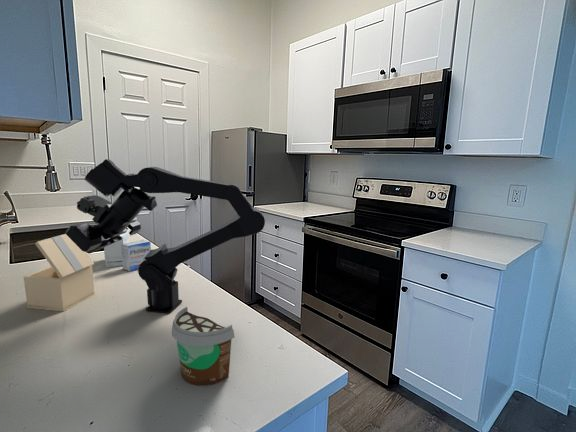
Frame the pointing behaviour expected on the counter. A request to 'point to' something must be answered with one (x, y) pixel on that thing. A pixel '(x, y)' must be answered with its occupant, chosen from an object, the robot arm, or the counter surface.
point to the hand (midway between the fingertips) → (88, 252)
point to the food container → (202, 348)
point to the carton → (58, 289)
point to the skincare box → (115, 251)
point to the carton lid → (64, 255)
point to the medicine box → (134, 254)
